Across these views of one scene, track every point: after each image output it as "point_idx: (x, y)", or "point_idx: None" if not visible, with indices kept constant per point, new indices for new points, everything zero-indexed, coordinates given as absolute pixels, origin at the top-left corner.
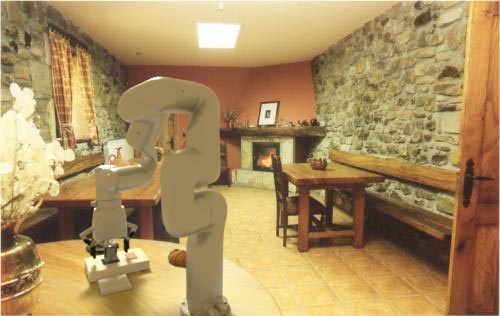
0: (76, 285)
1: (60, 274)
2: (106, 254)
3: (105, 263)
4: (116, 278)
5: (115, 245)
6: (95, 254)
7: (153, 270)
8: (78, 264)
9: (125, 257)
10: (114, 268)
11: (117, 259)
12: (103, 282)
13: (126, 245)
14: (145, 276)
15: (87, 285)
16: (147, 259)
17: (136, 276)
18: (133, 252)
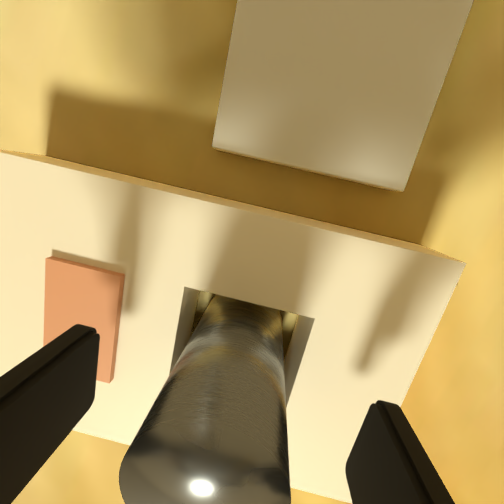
0: (494, 263)
1: (476, 450)
2: (277, 391)
3: (282, 343)
4: (293, 120)
5: (141, 463)
6: (396, 441)
7: (31, 108)
8: None
9: (126, 330)
10: (267, 214)
11: None
12: (391, 126)
13: (17, 378)
14: (106, 55)
15: (449, 214)
16: None
17: (156, 104)
18: None
